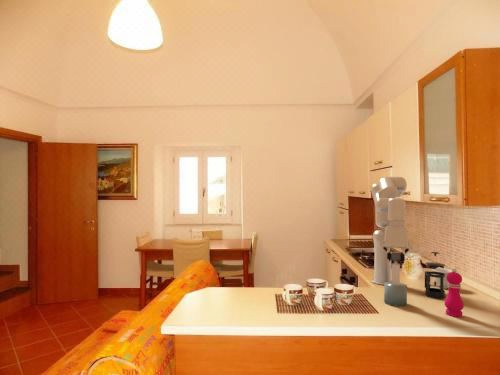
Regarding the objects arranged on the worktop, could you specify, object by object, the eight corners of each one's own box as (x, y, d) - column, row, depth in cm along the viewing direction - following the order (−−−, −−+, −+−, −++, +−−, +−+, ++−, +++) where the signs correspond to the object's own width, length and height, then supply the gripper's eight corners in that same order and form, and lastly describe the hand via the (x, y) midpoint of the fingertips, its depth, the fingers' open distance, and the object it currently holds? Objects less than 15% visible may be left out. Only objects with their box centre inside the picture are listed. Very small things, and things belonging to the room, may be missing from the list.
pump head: (401, 280, 162) (401, 253, 162) (389, 279, 164) (390, 252, 164) (401, 277, 169) (401, 251, 170) (390, 275, 171) (390, 250, 172)
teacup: (454, 285, 204) (454, 268, 204) (455, 291, 191) (455, 273, 191) (431, 282, 209) (431, 266, 210) (431, 288, 196) (431, 270, 196)
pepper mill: (454, 311, 154) (454, 266, 155) (467, 317, 147) (468, 270, 148) (440, 312, 153) (440, 267, 153) (453, 318, 146) (453, 270, 146)
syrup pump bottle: (407, 307, 158) (407, 267, 159) (383, 304, 162) (384, 265, 163) (406, 301, 168) (406, 263, 168) (384, 299, 171) (384, 261, 172)
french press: (450, 298, 175) (451, 253, 176) (435, 299, 173) (435, 253, 174) (433, 292, 187) (433, 250, 187) (418, 293, 184) (418, 250, 185)
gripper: (377, 223, 166) (376, 261, 165) (416, 225, 159) (415, 264, 159) (377, 222, 173) (377, 258, 172) (415, 224, 166) (414, 261, 166)
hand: (395, 261), depth 166 cm, fingers closed on pump head, 5 cm apart
